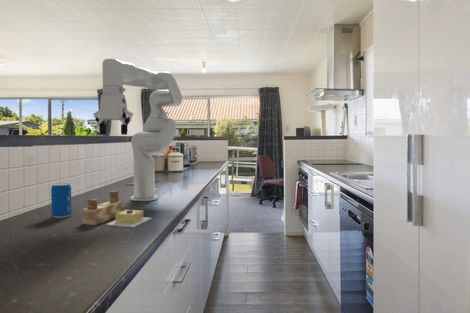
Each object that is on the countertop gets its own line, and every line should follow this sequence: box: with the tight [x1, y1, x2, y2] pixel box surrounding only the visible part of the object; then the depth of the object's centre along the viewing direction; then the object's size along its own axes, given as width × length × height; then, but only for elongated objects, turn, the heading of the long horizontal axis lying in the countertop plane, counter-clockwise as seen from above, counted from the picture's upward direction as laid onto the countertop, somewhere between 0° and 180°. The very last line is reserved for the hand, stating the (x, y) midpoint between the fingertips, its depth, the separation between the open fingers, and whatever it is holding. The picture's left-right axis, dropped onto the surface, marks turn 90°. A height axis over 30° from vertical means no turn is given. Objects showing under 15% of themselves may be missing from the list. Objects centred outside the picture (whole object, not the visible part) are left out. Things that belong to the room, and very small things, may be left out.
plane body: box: [81, 190, 124, 226], centre depth 119 cm, size 16×5×9 cm, turn 166°
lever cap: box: [114, 209, 144, 224], centre depth 116 cm, size 7×6×4 cm
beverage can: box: [50, 182, 73, 219], centre depth 122 cm, size 6×6×12 cm
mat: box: [106, 216, 152, 228], centre depth 116 cm, size 12×10×1 cm
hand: (113, 134), depth 134 cm, fingers open, 9 cm apart
